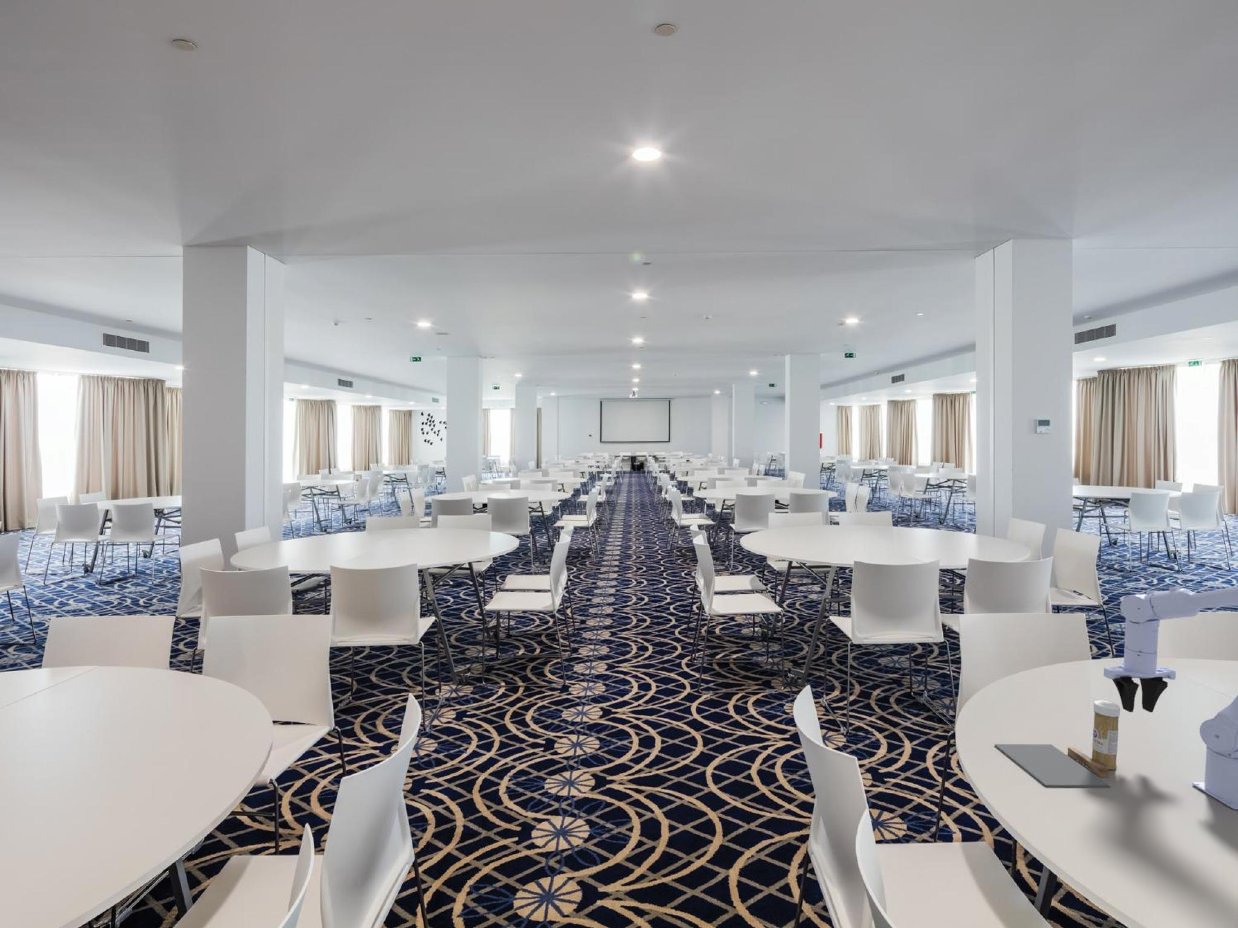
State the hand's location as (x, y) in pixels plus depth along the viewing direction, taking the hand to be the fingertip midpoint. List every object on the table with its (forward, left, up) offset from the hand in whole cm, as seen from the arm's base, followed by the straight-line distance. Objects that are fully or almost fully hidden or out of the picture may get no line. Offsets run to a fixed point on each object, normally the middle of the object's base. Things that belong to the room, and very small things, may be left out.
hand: (1137, 710), depth 150 cm
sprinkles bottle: (-4, +10, -11) cm, 15 cm away
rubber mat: (-4, +22, -10) cm, 25 cm away
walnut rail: (-4, +14, -10) cm, 18 cm away
